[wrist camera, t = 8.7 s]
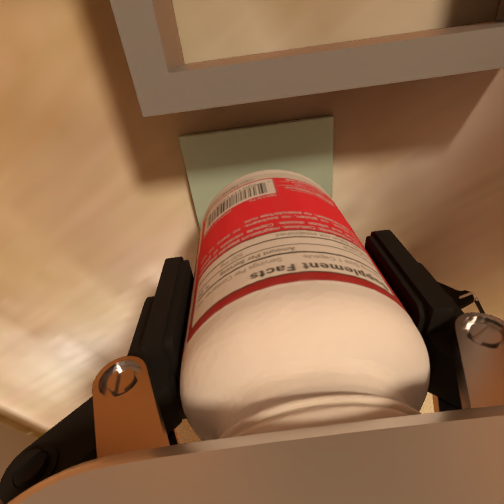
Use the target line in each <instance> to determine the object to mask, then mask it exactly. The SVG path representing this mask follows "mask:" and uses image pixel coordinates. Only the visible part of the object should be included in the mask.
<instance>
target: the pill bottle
mask: <svg viewBox="0 0 504 504" xmlns="http://www.w3.org/2000/svg"><path fill="white" fill-rule="evenodd" d="M429 381H430V362H429V356H428V352H427V348H426V346H425V343H424V341H423V338H422V336H421V334H420V333H419V331H418V329H417V328H416V326H415V324H414V323H413V321H412V319H411V317H410V316H409V314H408V313H407V311H406V310H405V308H404V307H403V305H402V303H401V302H400V300H399V299H398V298H397V296H396V295H395V293H394V292H393V290H392V289H391V287H390V286H389V284H388V283H387V281H386V280H385V278H384V277H383V275H382V274H381V272H380V271H379V269H378V268H377V266H376V265H375V263H374V262H373V260H372V259H371V257H370V256H369V254H368V253H367V251H366V250H365V248H364V247H363V245H362V243H361V242H360V240H359V239H358V237H357V236H356V234H355V233H354V231H353V230H352V228H351V227H350V225H349V224H348V222H347V221H346V219H345V218H344V216H343V215H342V213H341V212H340V210H339V209H338V207H337V206H336V205H335V203H334V202H333V200H332V199H331V198H330V196H329V195H328V194H327V193H326V191H325V190H324V189H323V188H321V187H320V186H319V185H318V184H317V183H315V182H314V181H313V180H311V179H309V178H307V177H305V176H303V175H301V174H298V173H295V172H291V171H286V170H262V171H257V172H253V173H249V174H247V175H244V176H242V177H240V178H238V179H236V180H234V181H233V182H231V183H230V184H228V185H227V186H226V187H225V188H223V189H222V190H221V191H220V192H219V193H218V194H217V195H216V197H215V198H214V199H213V200H212V202H211V203H210V205H209V207H208V209H207V211H206V213H205V216H204V219H203V222H202V226H201V231H200V236H199V243H198V251H197V259H196V267H195V272H194V280H193V287H192V294H191V301H190V308H189V315H188V321H187V328H186V334H185V341H184V347H183V353H182V361H181V372H180V397H181V402H182V407H183V410H184V413H185V415H186V418H187V420H188V422H189V423H190V425H191V427H192V429H193V430H194V431H195V433H196V434H197V435H198V437H199V438H200V439H201V440H202V441H207V440H215V439H223V438H230V437H238V436H246V435H254V434H262V433H269V432H277V431H285V430H293V429H302V428H310V427H318V426H326V425H334V424H342V423H350V422H359V421H367V420H375V419H383V418H392V417H400V416H409V415H417V414H421V413H420V412H419V411H420V409H421V407H422V405H423V402H424V400H425V398H426V395H427V392H428V387H429Z"/></svg>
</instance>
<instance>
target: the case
mask: <svg viewBox="0 0 504 504" xmlns="http://www.w3.org/2000/svg"><path fill="white" fill-rule="evenodd" d="M110 3H111V7H112V10H113V14H114V17H115V21H116V24H117V28H118V31H119V35H120V38H121V42H122V45H123V49H124V52H125V56H126V59H127V63H128V66H129V70H130V73H131V77H132V80H133V84H134V87H135V91H136V94H137V98H138V101H139V105H140V108H141V112H142V115H143V117H150V116H157V115H164V114H171V113H179V112H186V111H193V110H201V109H208V108H215V107H223V106H230V105H237V104H244V103H252V102H259V101H266V100H274V99H281V98H288V97H295V96H303V95H310V94H317V93H325V92H332V91H339V90H347V89H354V88H361V87H368V86H376V85H383V84H390V83H398V82H405V81H412V80H419V79H427V78H434V77H441V76H449V75H456V74H463V73H471V72H478V71H485V70H492V69H500V68H504V0H500V4H499V8H498V12H497V16H496V20H495V21H491V22H483V23H476V24H469V25H462V26H455V27H447V28H440V29H433V30H426V31H419V32H412V33H404V34H397V35H390V36H383V37H376V38H369V39H361V40H354V41H347V42H340V43H333V44H326V45H318V46H311V47H304V48H297V49H290V50H283V51H275V52H268V53H261V54H254V55H247V56H240V57H232V58H225V59H218V60H211V61H204V62H197V63H189V64H185V63H184V58H183V53H182V48H181V43H180V38H179V34H178V29H177V24H176V19H175V14H174V9H173V4H172V0H110Z"/></svg>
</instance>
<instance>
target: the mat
mask: <svg viewBox="0 0 504 504" xmlns="http://www.w3.org/2000/svg"><path fill="white" fill-rule="evenodd" d="M333 136H334V116H332V115H329V116H322V117H314V118H307V119H300V120H292V121H285V122H278V123H270V124H263V125H255V126H248V127H241V128H233V129H226V130H219V131H211V132H204V133H197V134H189V135H182V136H179V138H178V139H179V143H180V147H181V151H182V155H183V160H184V164H185V168H186V172H187V177H188V181H189V185H190V189H191V193H192V198H193V202H194V206H195V210H196V215H197V219H198V223H199V227H200V231H201V226H202V222H203V219H204V216H205V213H206V211H207V209H208V207H209V205H210V203H211V202H212V200H213V199H214V198H215V197H216V195H217V194H218V193H219V192H220V191H221V190H222V189H223V188H225V187H226V186H227V185H228V184H230V183H231V182H233V181H234V180H236V179H238V178H240V177H242V176H244V175H247V174H249V173H253V172H257V171H262V170H286V171H291V172H295V173H298V174H301V175H303V176H305V177H307V178H309V179H311V180H313V181H314V182H315V183H317V184H318V185H319V186H320V187H321V188H323V189H324V190H325V191H326V193H327V194H328V195H329V196H330V198H331V199H332V180H333Z"/></svg>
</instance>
